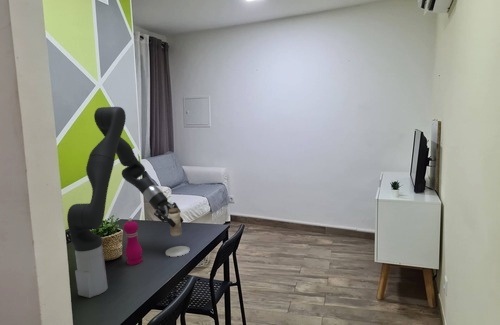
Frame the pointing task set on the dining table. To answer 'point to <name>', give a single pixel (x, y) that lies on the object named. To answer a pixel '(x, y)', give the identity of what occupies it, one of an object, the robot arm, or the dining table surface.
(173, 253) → the tile
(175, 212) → the salt shaker
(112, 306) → the dining table surface
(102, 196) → the robot arm
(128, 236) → the pepper mill
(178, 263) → the dining table surface
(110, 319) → the dining table surface
